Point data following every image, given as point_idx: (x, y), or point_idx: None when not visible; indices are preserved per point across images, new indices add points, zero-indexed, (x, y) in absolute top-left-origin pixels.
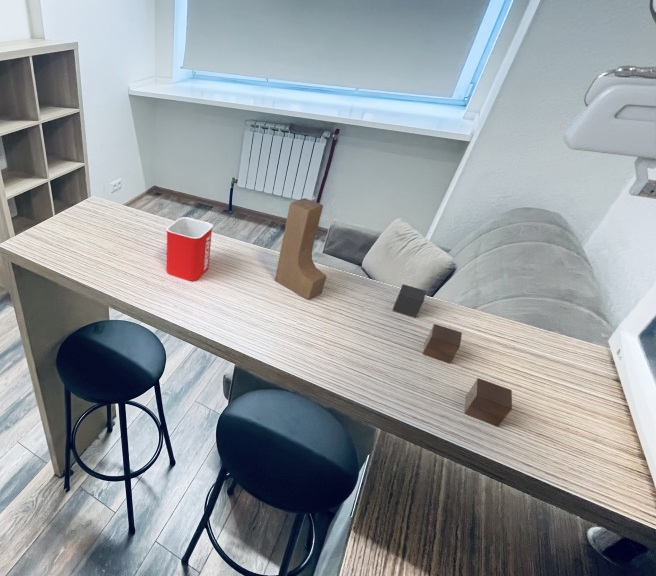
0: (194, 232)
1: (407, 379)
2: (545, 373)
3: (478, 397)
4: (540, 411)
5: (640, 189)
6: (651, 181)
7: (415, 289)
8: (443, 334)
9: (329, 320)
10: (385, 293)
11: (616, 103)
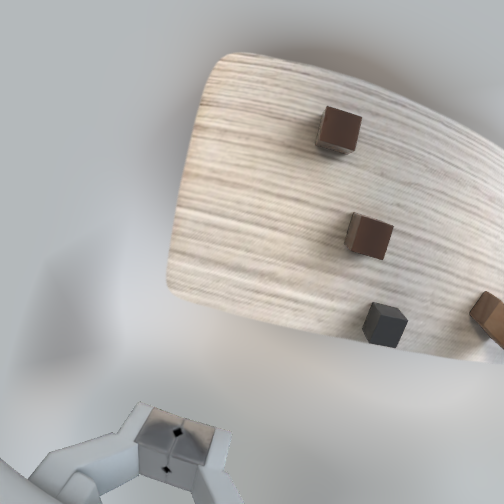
0: None
1: (406, 165)
2: (238, 233)
3: (359, 116)
4: (267, 156)
5: (216, 443)
6: (178, 475)
7: (383, 340)
8: (377, 236)
9: (471, 256)
10: None
11: None
